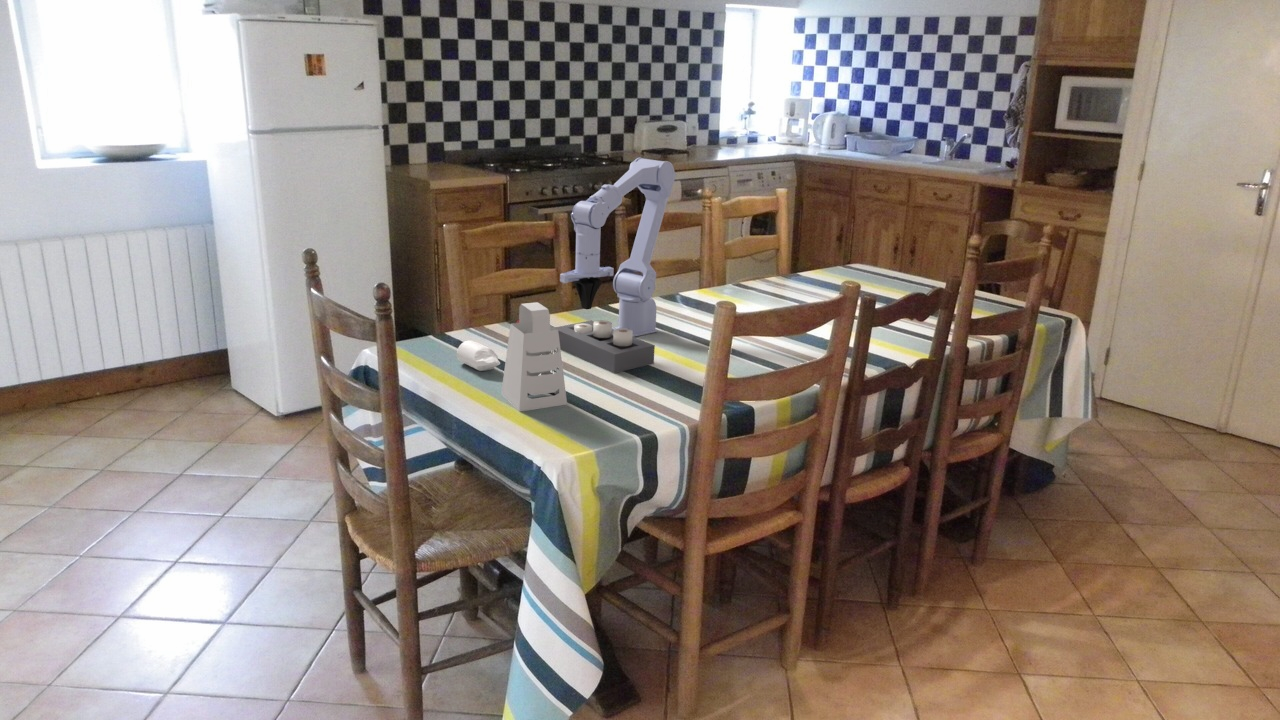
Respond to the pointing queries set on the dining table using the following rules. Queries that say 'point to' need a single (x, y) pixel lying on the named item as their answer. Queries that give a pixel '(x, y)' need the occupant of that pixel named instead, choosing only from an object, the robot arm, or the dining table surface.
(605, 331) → the button middle
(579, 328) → the button
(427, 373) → the dining table surface
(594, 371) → the dining table surface
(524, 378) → the grater
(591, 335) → the mount
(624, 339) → the button
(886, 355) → the dining table surface
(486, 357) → the roll
